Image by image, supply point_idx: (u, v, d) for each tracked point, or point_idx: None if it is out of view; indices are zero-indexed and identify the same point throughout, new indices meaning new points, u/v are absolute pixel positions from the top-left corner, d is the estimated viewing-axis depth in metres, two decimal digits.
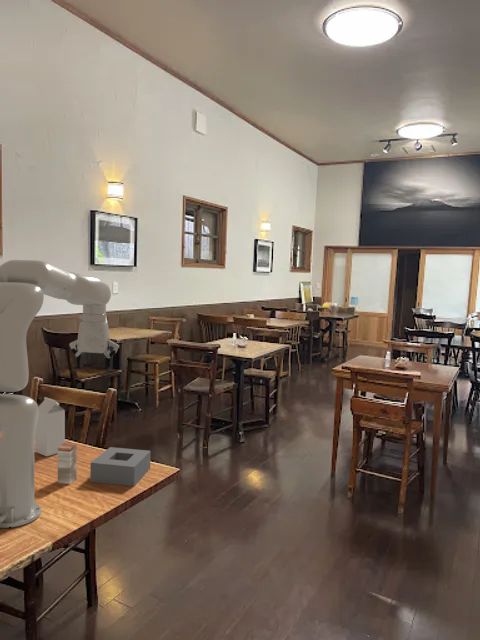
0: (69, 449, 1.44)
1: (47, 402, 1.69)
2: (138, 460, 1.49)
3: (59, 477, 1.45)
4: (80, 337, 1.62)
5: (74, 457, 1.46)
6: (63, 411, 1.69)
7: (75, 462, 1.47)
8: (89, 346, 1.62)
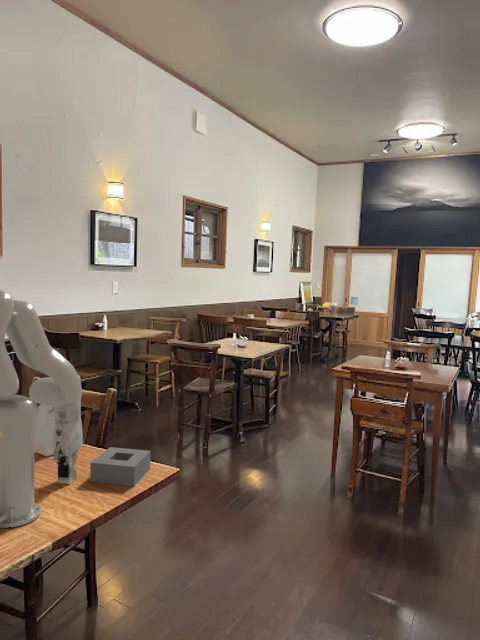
0: None
1: None
2: (138, 460, 1.49)
3: (59, 477, 1.45)
4: (69, 440, 1.41)
5: (74, 457, 1.46)
6: None
7: (75, 462, 1.47)
8: (75, 445, 1.45)
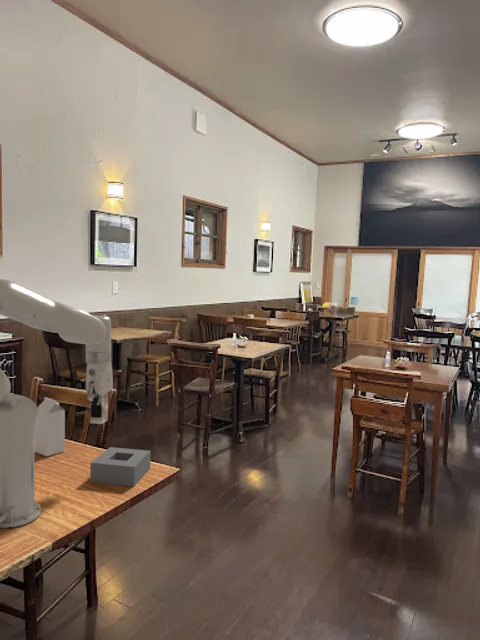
0: None
1: (47, 402, 1.69)
2: (138, 460, 1.49)
3: (91, 417, 1.47)
4: (102, 379, 1.43)
5: (105, 398, 1.48)
6: (63, 411, 1.69)
7: (106, 403, 1.49)
8: (107, 386, 1.47)
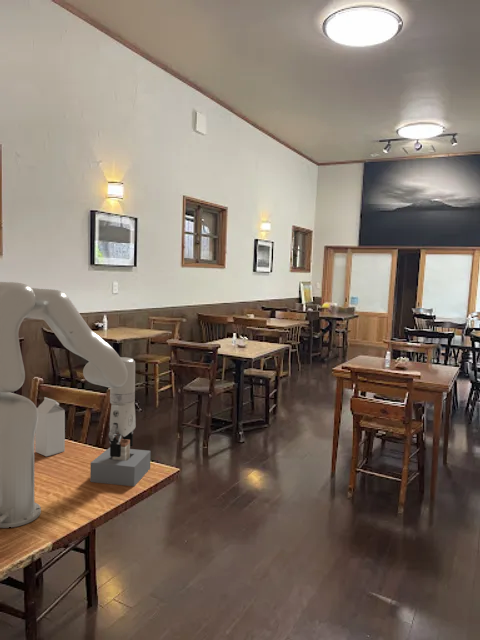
0: (124, 444, 1.49)
1: (47, 402, 1.69)
2: (138, 460, 1.49)
3: None
4: (125, 421, 1.47)
5: (128, 452, 1.52)
6: (63, 411, 1.69)
7: (128, 457, 1.53)
8: (130, 426, 1.50)
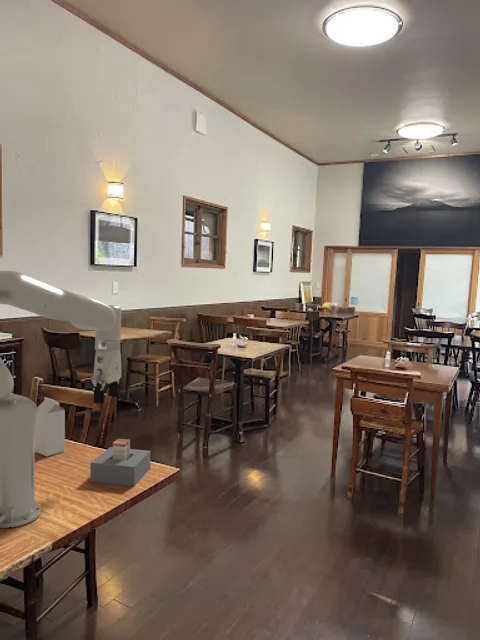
0: (124, 444, 1.49)
1: (47, 402, 1.69)
2: (138, 460, 1.49)
3: None
4: (109, 367, 1.45)
5: (128, 452, 1.52)
6: (63, 411, 1.69)
7: (128, 457, 1.53)
8: (114, 374, 1.48)
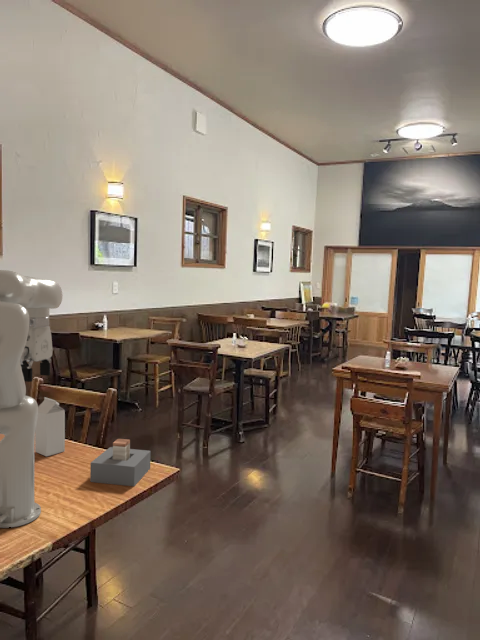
0: (124, 444, 1.49)
1: (47, 402, 1.69)
2: (138, 460, 1.49)
3: None
4: (37, 345, 1.44)
5: (128, 452, 1.52)
6: (63, 411, 1.69)
7: (128, 457, 1.53)
8: (43, 352, 1.47)
